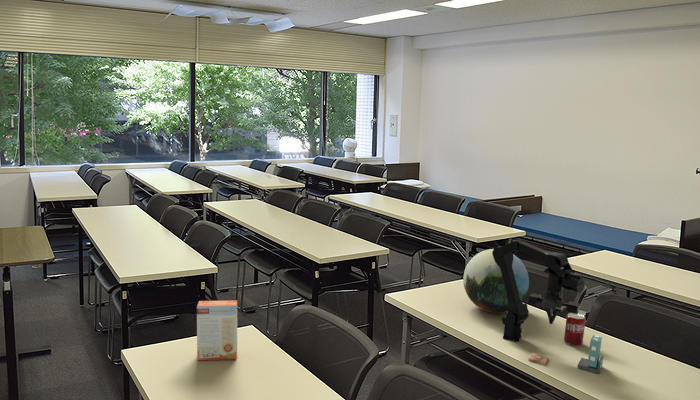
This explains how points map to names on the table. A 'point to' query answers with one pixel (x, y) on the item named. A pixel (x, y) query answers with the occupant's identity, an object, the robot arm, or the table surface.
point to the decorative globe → (492, 282)
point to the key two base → (584, 363)
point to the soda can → (574, 329)
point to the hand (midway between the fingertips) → (551, 323)
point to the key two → (594, 351)
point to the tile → (538, 358)
